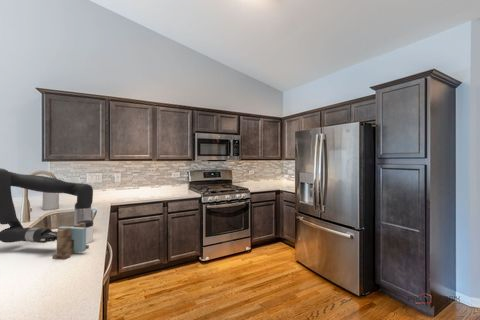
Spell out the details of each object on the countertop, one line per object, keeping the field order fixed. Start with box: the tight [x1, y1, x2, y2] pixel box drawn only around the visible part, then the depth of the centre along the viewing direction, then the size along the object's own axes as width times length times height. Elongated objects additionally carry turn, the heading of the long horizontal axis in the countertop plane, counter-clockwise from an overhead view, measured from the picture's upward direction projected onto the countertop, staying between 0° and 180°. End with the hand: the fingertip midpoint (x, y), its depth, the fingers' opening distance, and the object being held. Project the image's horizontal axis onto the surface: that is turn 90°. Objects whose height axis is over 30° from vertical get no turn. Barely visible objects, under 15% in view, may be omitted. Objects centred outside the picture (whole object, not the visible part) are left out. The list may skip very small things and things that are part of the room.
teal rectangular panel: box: [57, 226, 87, 253], centre depth 127 cm, size 14×2×12 cm, turn 84°
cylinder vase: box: [42, 192, 60, 211], centre depth 235 cm, size 12×12×25 cm
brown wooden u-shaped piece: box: [51, 223, 90, 260], centre depth 127 cm, size 16×7×14 cm, turn 174°
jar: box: [77, 219, 94, 244], centre depth 145 cm, size 9×8×12 cm
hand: (68, 236), depth 128 cm, fingers closed on teal rectangular panel, 2 cm apart
